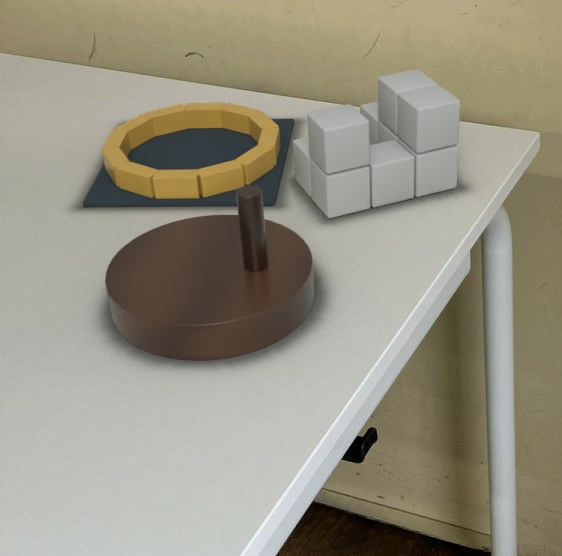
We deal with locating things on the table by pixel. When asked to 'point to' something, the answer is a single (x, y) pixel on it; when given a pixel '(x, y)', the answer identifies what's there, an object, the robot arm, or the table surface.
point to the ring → (194, 180)
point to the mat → (191, 165)
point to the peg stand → (212, 284)
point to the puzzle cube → (381, 147)
